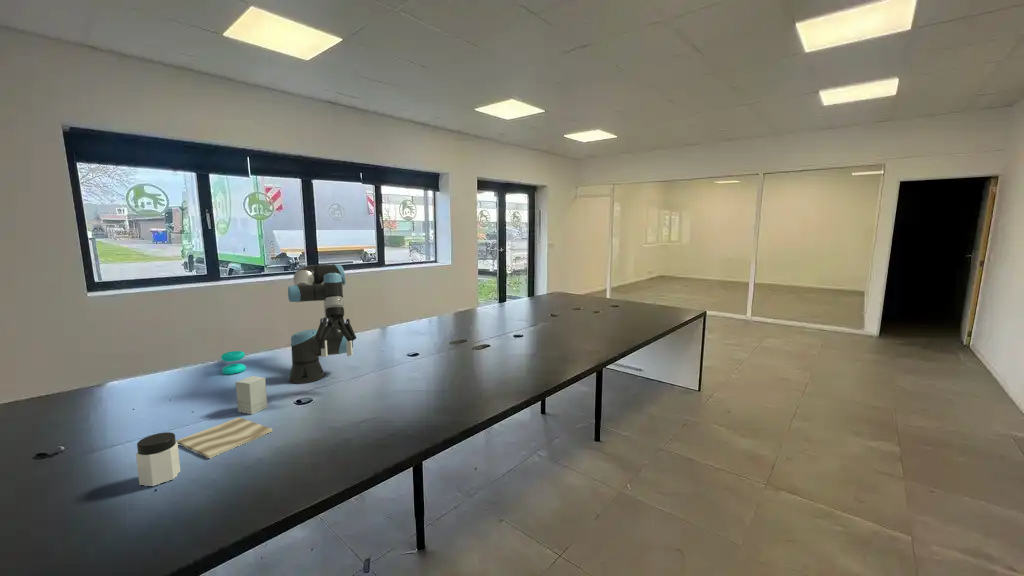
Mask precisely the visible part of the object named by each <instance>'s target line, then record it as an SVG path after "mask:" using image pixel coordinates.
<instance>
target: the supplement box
mask: <svg viewBox="0 0 1024 576" xmlns="http://www.w3.org/2000/svg"><path fill="white" fill-rule="evenodd" d="M235 389H236V391H235V392H236V398H237V408H238V409H237V411H238V413H241V412H242V414H246V413H247V414H248V415H254V414H256V413H258V412H261V411H263V410H266V409H268V407H269V406H268V396H267V384H266V377H261V376H255V375H251V376H249V377H246V378H242V379H240V380H238V381H235Z"/></svg>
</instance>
